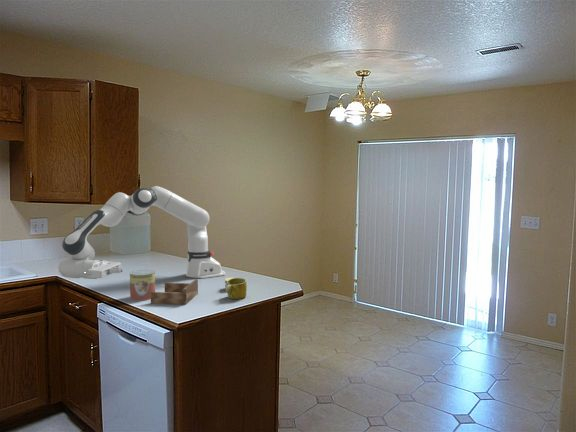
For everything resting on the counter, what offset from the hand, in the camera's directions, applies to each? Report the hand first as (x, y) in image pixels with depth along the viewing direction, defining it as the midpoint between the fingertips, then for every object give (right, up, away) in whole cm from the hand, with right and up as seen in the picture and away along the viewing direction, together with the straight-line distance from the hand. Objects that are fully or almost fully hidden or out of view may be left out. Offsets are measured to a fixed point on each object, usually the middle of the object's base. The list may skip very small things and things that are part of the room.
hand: (121, 270), depth 203 cm
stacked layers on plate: (+49, -12, +17) cm, 53 cm away
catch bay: (+25, -13, -1) cm, 28 cm away
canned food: (+10, -13, 0) cm, 16 cm away
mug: (+53, -13, 0) cm, 55 cm away
